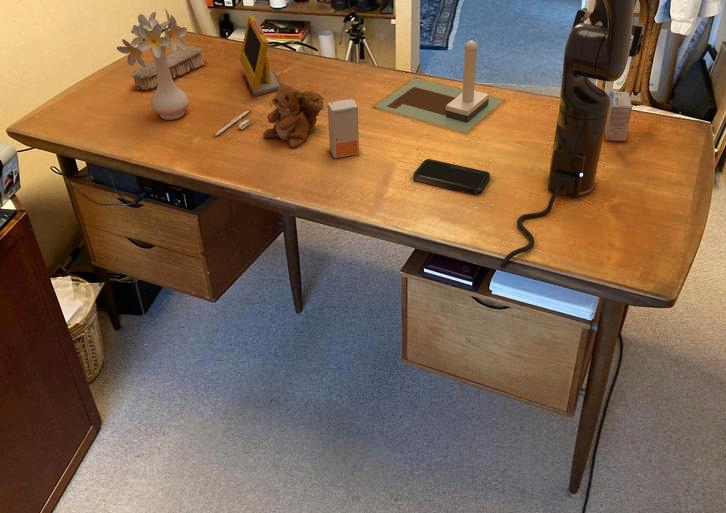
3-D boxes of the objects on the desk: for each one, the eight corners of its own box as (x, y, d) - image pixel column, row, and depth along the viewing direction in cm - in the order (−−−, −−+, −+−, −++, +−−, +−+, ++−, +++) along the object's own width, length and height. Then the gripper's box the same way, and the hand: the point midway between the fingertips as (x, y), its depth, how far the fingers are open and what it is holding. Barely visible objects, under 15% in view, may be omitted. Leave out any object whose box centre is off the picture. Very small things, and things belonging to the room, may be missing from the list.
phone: (479, 191, 144) (411, 175, 149) (478, 195, 144) (411, 179, 150) (491, 172, 149) (426, 157, 155) (491, 176, 150) (426, 162, 155)
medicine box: (625, 142, 160) (633, 107, 154) (605, 140, 160) (612, 106, 155) (622, 125, 166) (629, 91, 160) (602, 124, 166) (609, 90, 161)
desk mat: (465, 133, 165) (465, 132, 165) (374, 107, 177) (374, 106, 177) (503, 101, 178) (503, 100, 178) (415, 78, 190) (415, 77, 190)
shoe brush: (191, 57, 207) (188, 41, 204) (210, 62, 203) (207, 46, 200) (129, 88, 191) (124, 71, 188) (147, 94, 188) (143, 77, 185)
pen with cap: (247, 111, 178) (246, 104, 177) (262, 114, 176) (261, 107, 175) (214, 136, 168) (213, 128, 167) (229, 139, 167) (227, 131, 165)
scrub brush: (467, 122, 169) (471, 51, 158) (445, 116, 172) (448, 46, 161) (488, 105, 176) (494, 35, 165) (467, 99, 179) (471, 30, 168)
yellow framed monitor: (241, 72, 198) (233, 16, 188) (268, 67, 199) (262, 12, 189) (254, 101, 182) (246, 42, 173) (284, 96, 184) (277, 37, 174)
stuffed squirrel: (260, 138, 167) (253, 86, 159) (304, 117, 175) (300, 66, 166) (287, 152, 161) (281, 99, 153) (332, 130, 169) (329, 78, 161)
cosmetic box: (334, 159, 158) (331, 110, 151) (329, 150, 161) (326, 102, 154) (360, 154, 159) (358, 106, 152) (355, 146, 162) (353, 98, 155)
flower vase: (131, 130, 172) (104, 29, 157) (167, 97, 186) (145, 2, 171) (179, 135, 169) (156, 34, 154) (212, 102, 183) (194, 5, 168)
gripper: (577, -19, 138) (558, 61, 147) (647, -1, 131) (622, 82, 140) (594, -25, 143) (574, 53, 152) (662, -8, 136) (637, 73, 145)
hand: (597, 67), depth 146 cm, fingers open, 8 cm apart
